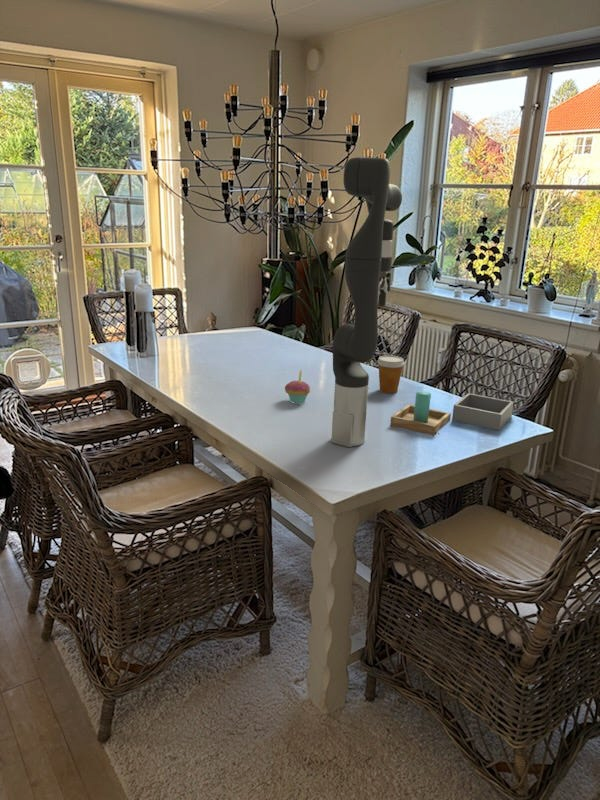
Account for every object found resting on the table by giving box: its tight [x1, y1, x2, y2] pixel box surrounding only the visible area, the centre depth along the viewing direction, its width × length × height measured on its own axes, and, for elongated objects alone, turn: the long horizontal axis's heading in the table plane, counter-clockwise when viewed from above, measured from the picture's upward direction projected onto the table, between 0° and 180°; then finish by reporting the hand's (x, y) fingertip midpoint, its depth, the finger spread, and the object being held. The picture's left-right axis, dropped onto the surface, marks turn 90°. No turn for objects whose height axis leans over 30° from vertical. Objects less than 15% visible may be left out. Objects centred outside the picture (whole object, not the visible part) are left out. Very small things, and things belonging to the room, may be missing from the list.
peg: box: [413, 390, 432, 423], centre depth 187 cm, size 4×4×9 cm
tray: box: [389, 404, 452, 437], centre depth 188 cm, size 14×14×3 cm
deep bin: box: [451, 392, 515, 431], centre depth 191 cm, size 15×15×6 cm
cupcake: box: [284, 370, 311, 404], centre depth 203 cm, size 9×8×12 cm
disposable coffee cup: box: [376, 355, 405, 394], centre depth 218 cm, size 10×10×12 cm
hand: (376, 307), depth 192 cm, fingers open, 8 cm apart
